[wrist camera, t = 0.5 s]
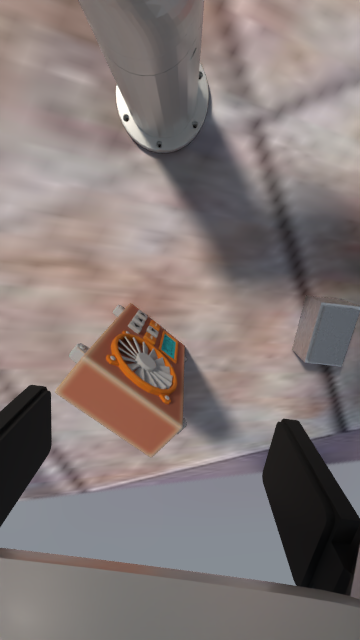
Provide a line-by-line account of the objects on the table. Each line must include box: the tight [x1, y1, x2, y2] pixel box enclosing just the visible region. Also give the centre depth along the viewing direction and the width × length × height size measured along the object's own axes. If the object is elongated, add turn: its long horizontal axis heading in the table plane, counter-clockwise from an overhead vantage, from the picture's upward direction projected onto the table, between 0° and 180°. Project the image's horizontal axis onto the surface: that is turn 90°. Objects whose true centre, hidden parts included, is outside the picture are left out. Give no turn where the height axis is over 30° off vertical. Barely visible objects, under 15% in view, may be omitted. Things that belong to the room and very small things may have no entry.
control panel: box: [55, 303, 187, 457], centre depth 36 cm, size 21×7×15 cm
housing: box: [292, 295, 360, 366], centre depth 42 cm, size 10×6×6 cm, turn 174°
